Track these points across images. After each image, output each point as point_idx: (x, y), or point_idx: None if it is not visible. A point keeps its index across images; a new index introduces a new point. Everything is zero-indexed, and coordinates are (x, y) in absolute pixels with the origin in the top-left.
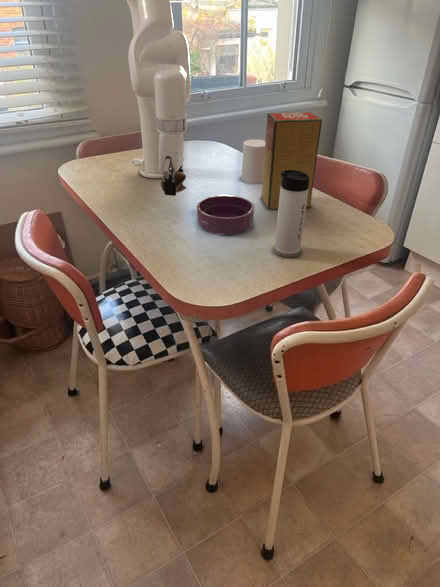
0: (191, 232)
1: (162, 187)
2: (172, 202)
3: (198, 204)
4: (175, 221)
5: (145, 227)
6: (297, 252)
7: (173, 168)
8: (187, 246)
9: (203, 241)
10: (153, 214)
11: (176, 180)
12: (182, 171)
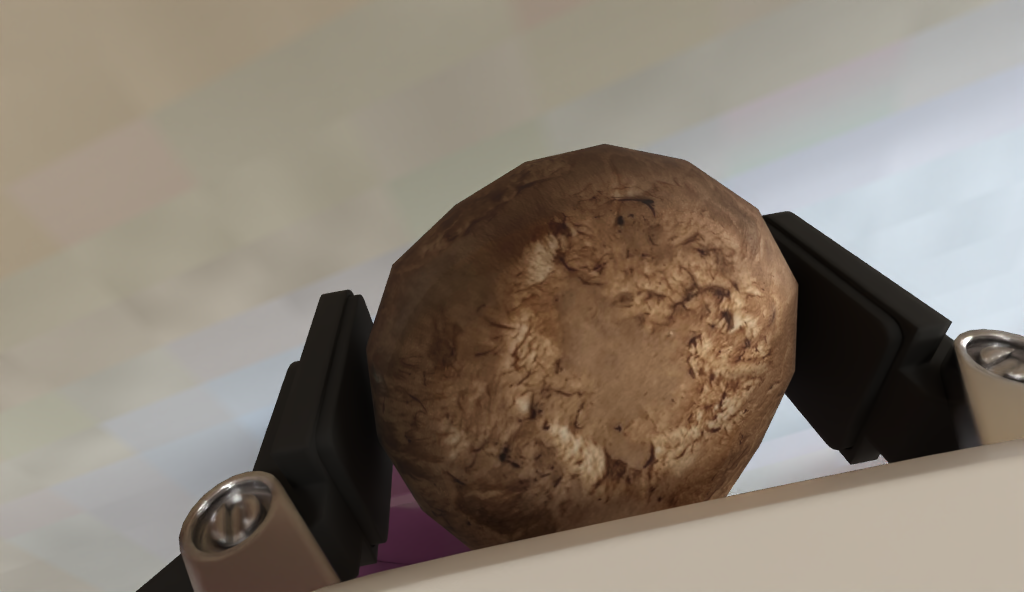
0: (228, 417)
1: (407, 256)
2: (669, 102)
3: (393, 502)
4: (320, 275)
5: (26, 81)
6: None
7: (921, 351)
8: (41, 466)
9: (170, 496)
10: (350, 28)
11: (444, 527)
12: (830, 435)
